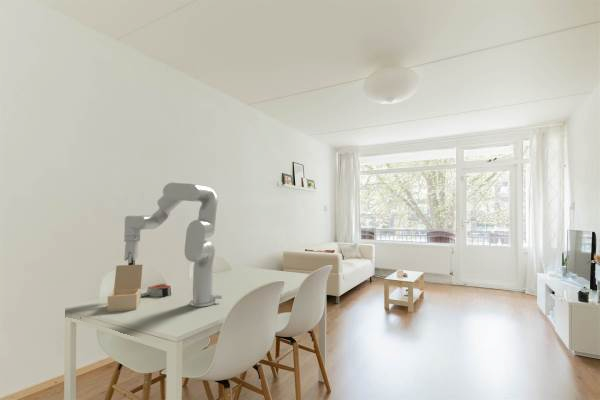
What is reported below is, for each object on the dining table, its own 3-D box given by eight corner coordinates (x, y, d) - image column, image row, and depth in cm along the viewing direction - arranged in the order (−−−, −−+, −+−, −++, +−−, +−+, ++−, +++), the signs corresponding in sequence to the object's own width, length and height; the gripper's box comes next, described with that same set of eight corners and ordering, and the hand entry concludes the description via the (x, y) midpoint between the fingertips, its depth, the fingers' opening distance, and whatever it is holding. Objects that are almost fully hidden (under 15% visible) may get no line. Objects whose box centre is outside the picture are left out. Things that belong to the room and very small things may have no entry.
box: (140, 302, 162) (140, 288, 162) (136, 309, 151) (136, 294, 151) (113, 304, 158) (113, 290, 159) (107, 311, 147) (107, 296, 147)
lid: (140, 288, 163) (140, 288, 163) (142, 264, 167) (142, 264, 168) (113, 290, 159) (114, 290, 160) (116, 265, 163) (116, 265, 164)
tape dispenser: (127, 302, 169) (165, 300, 168) (127, 292, 168) (164, 290, 168) (144, 292, 186) (178, 290, 186) (143, 283, 186) (177, 281, 186)
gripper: (127, 237, 177) (126, 271, 176) (121, 240, 163) (120, 276, 162) (142, 237, 179) (141, 270, 178) (137, 239, 165) (136, 275, 164)
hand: (131, 273), depth 170 cm, fingers closed
